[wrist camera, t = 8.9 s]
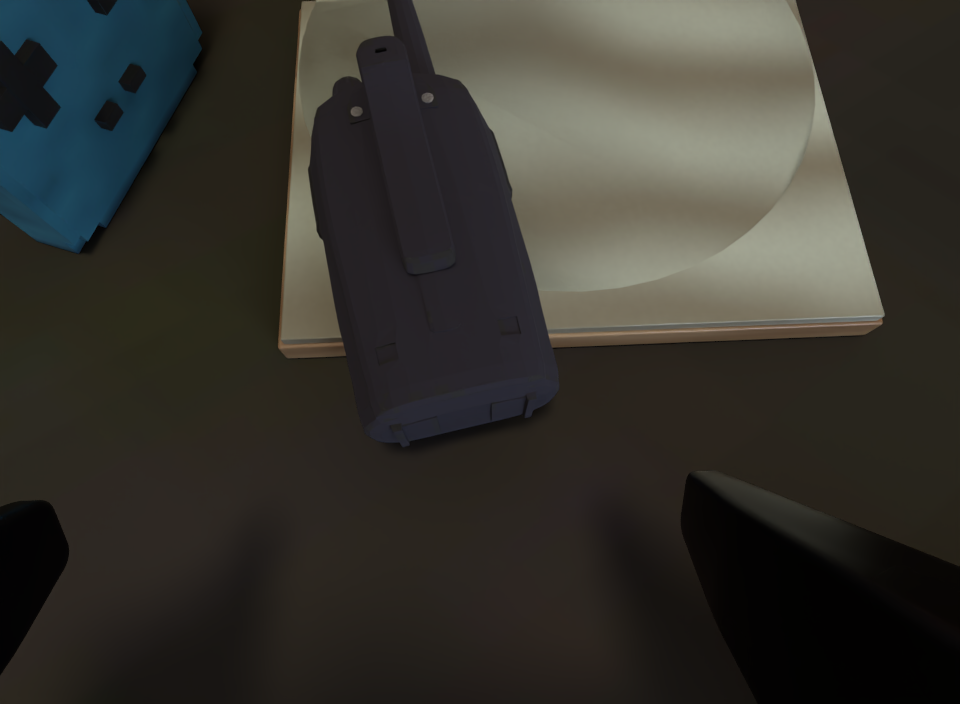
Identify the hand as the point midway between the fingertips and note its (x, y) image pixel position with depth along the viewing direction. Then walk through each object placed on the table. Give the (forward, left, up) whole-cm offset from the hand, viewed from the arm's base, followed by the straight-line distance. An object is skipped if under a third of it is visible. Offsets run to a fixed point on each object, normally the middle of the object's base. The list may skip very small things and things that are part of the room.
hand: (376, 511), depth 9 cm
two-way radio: (0, -3, -5) cm, 6 cm away
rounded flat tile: (+5, -15, -9) cm, 18 cm away
